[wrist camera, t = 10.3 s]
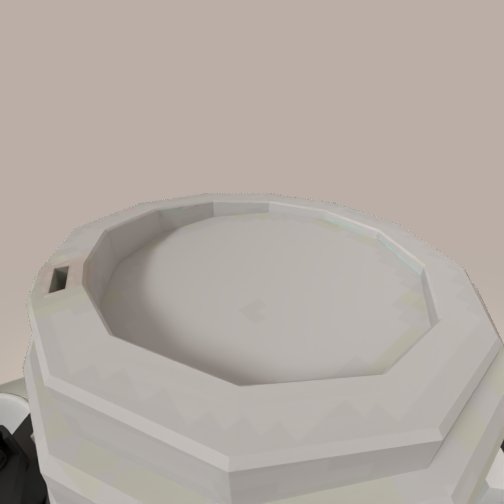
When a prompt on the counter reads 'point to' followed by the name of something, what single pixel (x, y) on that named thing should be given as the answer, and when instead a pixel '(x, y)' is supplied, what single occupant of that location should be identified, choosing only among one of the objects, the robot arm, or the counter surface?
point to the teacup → (13, 410)
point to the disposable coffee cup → (260, 359)
